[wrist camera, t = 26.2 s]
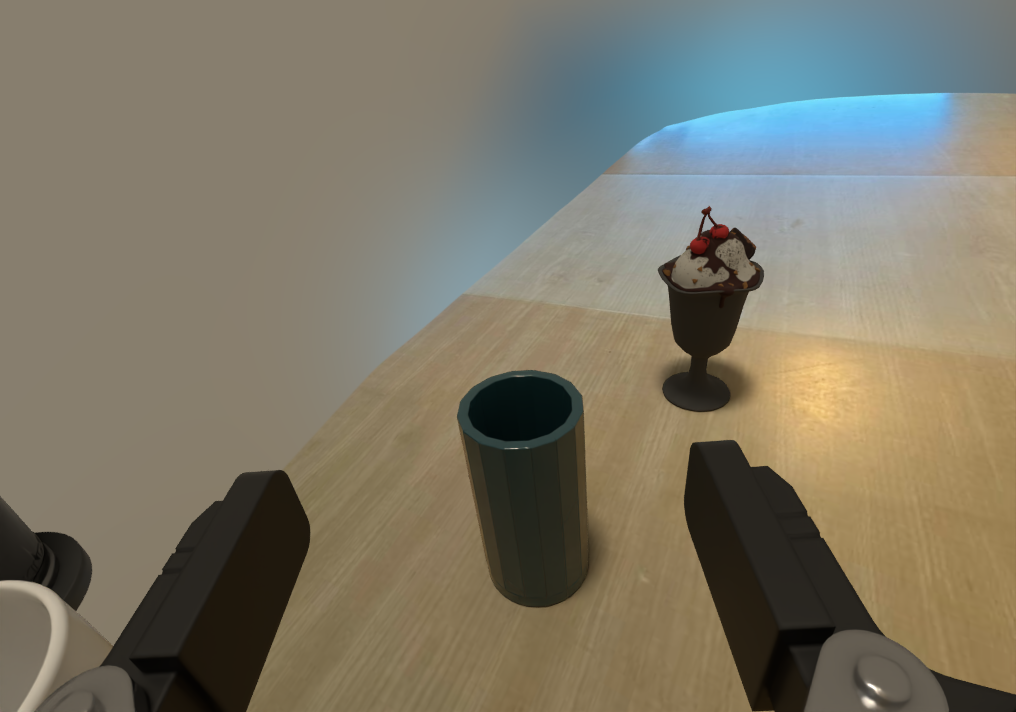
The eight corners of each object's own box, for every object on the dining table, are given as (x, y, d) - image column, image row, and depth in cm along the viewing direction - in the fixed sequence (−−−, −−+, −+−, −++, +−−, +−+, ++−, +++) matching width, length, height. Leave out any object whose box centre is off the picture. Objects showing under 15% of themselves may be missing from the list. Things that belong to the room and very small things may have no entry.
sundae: (660, 422, 38) (675, 219, 30) (645, 370, 43) (653, 188, 35) (755, 417, 37) (796, 209, 29) (726, 365, 43) (754, 178, 34)
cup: (567, 623, 26) (554, 462, 20) (470, 585, 28) (433, 431, 22) (601, 536, 30) (599, 381, 24) (514, 509, 32) (493, 362, 26)
